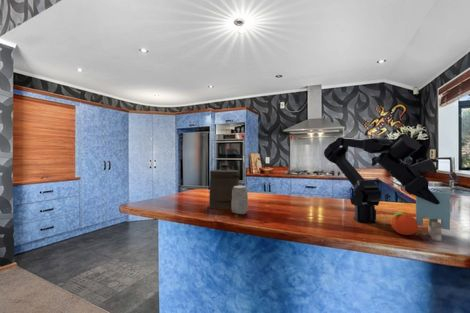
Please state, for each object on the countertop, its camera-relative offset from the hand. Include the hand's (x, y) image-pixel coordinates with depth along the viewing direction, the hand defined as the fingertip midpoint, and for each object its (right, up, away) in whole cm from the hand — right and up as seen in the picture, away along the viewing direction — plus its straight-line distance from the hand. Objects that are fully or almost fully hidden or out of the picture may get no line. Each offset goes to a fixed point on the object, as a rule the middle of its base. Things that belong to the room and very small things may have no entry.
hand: (437, 203), depth 72 cm
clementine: (-10, -11, +2) cm, 15 cm away
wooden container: (-70, -11, +43) cm, 82 cm away
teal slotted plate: (-1, -8, +1) cm, 8 cm away
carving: (-62, -11, +28) cm, 69 cm away
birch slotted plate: (-1, -11, 0) cm, 11 cm away
